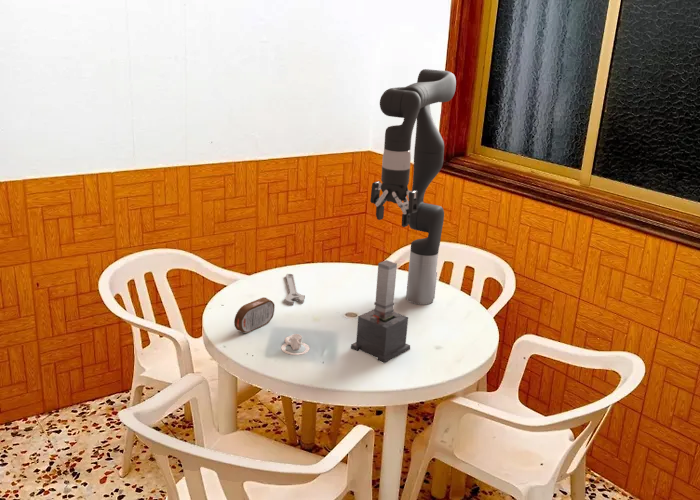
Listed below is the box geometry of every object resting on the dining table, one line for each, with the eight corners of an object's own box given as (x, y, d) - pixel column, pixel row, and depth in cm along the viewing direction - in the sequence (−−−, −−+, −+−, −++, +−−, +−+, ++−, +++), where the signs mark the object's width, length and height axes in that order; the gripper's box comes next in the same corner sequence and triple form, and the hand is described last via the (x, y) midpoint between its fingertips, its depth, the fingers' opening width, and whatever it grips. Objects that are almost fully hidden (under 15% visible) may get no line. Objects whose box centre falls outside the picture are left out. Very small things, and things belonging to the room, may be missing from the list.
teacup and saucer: (283, 340, 193) (283, 328, 191) (310, 342, 193) (311, 330, 191) (279, 355, 184) (279, 342, 183) (308, 357, 184) (308, 344, 183)
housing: (377, 335, 199) (379, 300, 195) (410, 349, 192) (413, 313, 188) (350, 348, 190) (353, 312, 186) (384, 363, 183) (387, 326, 179)
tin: (268, 318, 205) (269, 293, 203) (276, 321, 204) (276, 296, 201) (233, 334, 194) (233, 308, 191) (241, 338, 192) (241, 311, 189)
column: (381, 322, 191) (386, 259, 185) (392, 326, 189) (397, 263, 183) (372, 326, 188) (377, 263, 182) (383, 331, 186) (389, 267, 180)
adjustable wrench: (285, 277, 239) (285, 273, 239) (303, 278, 240) (303, 273, 239) (285, 306, 216) (285, 300, 215) (305, 306, 216) (305, 301, 216)
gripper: (425, 168, 179) (421, 225, 184) (383, 158, 187) (380, 214, 193) (409, 172, 173) (405, 232, 179) (366, 162, 182) (363, 219, 187)
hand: (392, 222), depth 186 cm, fingers open, 8 cm apart
